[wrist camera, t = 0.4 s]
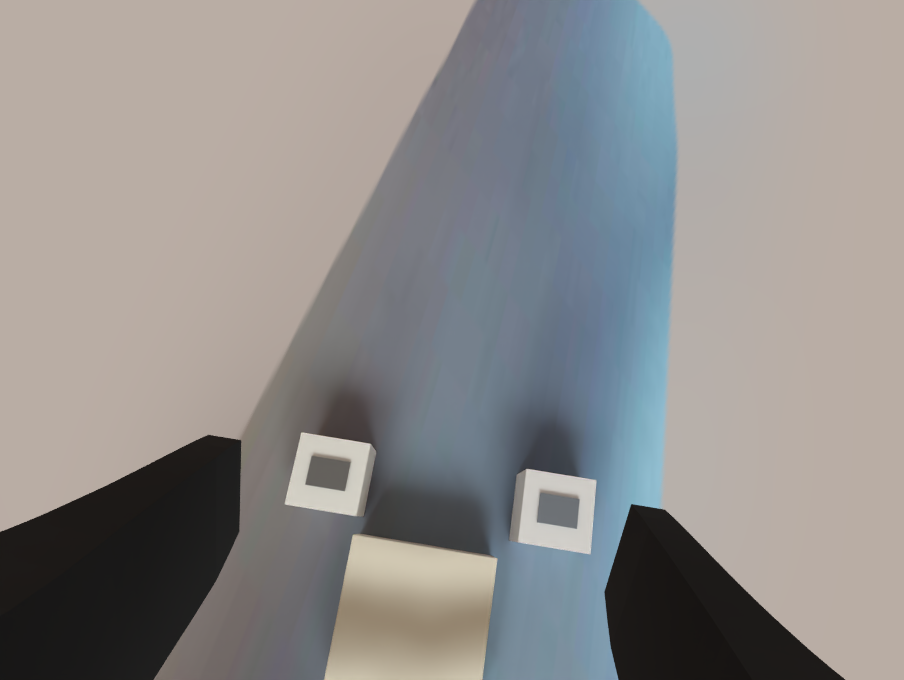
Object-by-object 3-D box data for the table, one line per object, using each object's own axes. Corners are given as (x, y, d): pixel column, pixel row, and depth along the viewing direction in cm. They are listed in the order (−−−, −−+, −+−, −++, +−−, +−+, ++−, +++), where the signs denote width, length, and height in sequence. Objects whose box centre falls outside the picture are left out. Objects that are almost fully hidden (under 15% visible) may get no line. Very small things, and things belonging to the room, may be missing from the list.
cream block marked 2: (363, 516, 36) (355, 516, 32) (299, 506, 36) (283, 504, 32) (376, 451, 37) (370, 443, 33) (314, 441, 37) (300, 431, 33)
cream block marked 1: (573, 551, 36) (591, 554, 32) (508, 540, 36) (518, 542, 32) (579, 485, 37) (597, 479, 33) (516, 474, 37) (527, 468, 33)
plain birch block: (470, 702, 34) (476, 725, 30) (332, 679, 34) (320, 699, 30) (489, 555, 36) (497, 558, 32) (360, 533, 36) (352, 534, 32)
